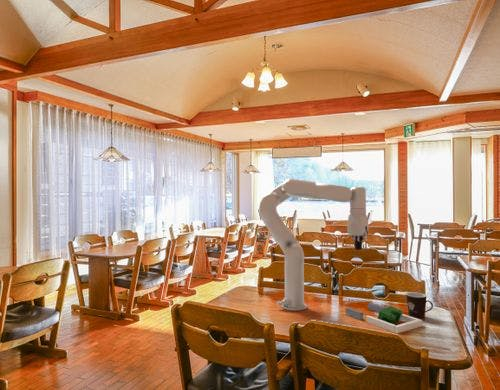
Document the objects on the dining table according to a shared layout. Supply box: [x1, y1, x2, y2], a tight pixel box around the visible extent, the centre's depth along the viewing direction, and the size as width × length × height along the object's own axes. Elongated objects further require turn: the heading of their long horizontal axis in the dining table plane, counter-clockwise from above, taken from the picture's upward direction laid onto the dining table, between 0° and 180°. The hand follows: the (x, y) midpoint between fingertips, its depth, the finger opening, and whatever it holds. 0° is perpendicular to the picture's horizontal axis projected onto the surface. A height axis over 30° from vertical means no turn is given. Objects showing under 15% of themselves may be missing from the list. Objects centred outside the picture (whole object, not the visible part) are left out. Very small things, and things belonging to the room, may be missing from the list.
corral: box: [365, 313, 423, 334], centre depth 157 cm, size 16×16×2 cm
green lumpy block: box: [377, 305, 404, 325], centre depth 159 cm, size 12×6×9 cm, turn 128°
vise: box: [345, 302, 390, 321], centre depth 172 cm, size 23×9×3 cm, turn 120°
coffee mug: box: [405, 291, 434, 320], centre depth 165 cm, size 12×9×10 cm
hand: (358, 249), depth 180 cm, fingers closed
